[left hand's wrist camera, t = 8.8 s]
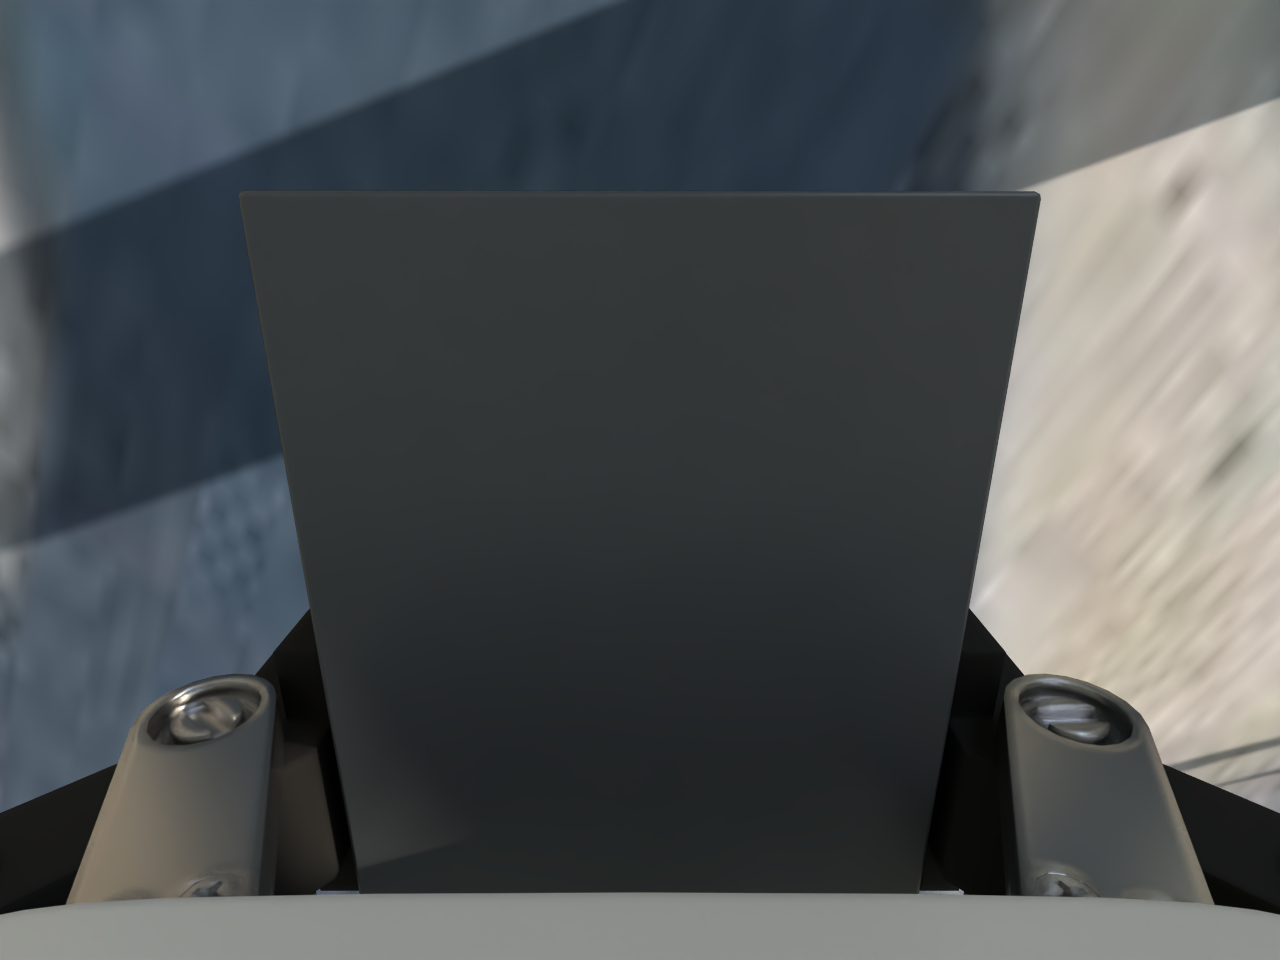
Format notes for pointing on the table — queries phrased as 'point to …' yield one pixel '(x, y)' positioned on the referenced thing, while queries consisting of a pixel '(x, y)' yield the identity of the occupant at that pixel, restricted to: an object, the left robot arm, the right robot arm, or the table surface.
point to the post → (639, 521)
